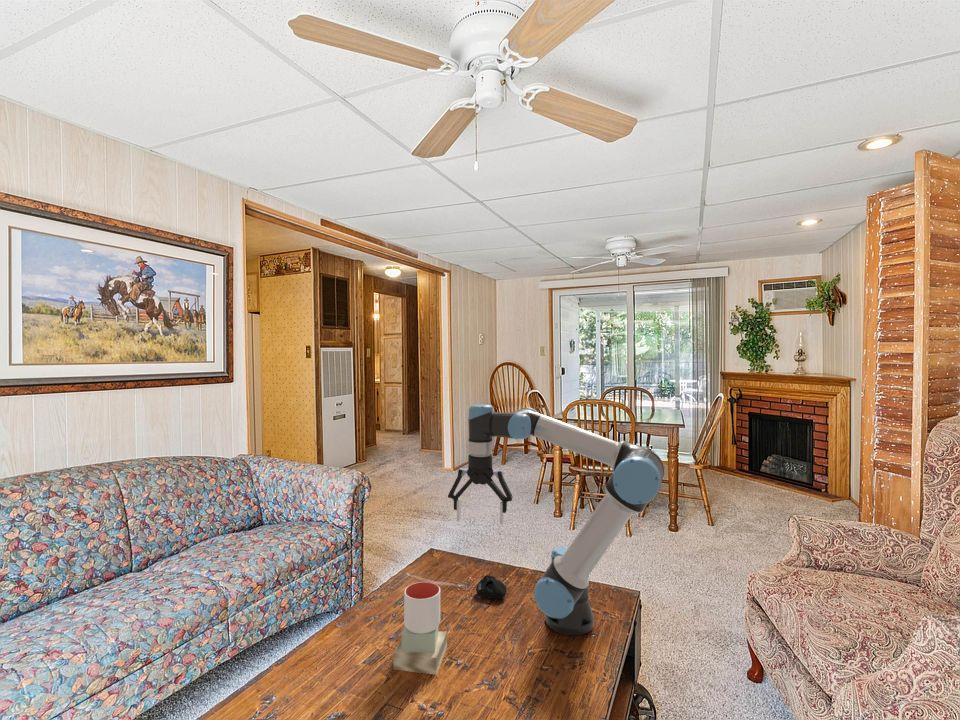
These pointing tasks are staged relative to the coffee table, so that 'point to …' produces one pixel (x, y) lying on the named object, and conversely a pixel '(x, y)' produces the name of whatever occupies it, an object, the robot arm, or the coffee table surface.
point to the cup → (422, 607)
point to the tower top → (419, 641)
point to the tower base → (421, 657)
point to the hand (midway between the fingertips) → (480, 521)
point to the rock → (491, 588)
